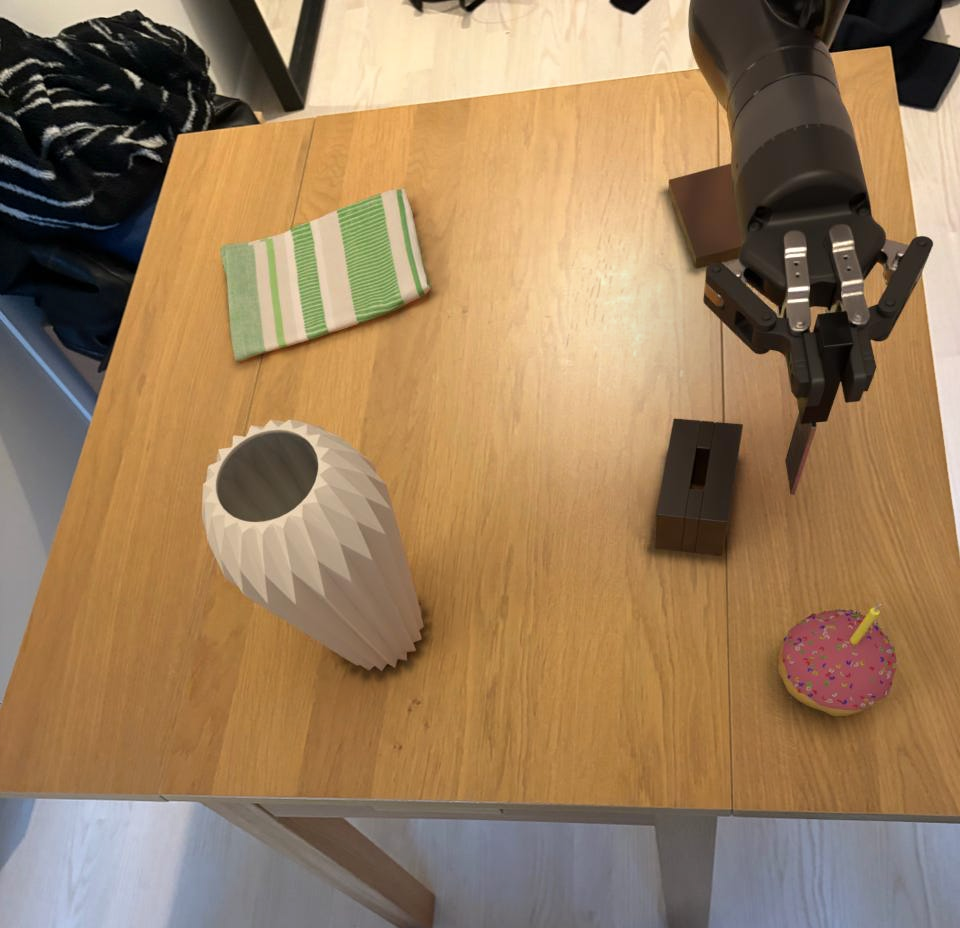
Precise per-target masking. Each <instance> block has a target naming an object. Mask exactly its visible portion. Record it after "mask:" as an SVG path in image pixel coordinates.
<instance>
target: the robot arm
mask: <svg viewBox="0 0 960 928" xmlns="http://www.w3.org/2000/svg"><path fill="white" fill-rule="evenodd" d="M850 2H851V0H689V4H688V6H689V7H688V17H687V26H688V27H687V28H688V29H687V30H688V40H689V44H690V48H691V52H692V56H693V59H694V62H695V64H696V65H697V68H698V69H699V71H700V74H701V75H702V77H703V79H704V80H705V81H706V83H707V85H708V87H709V88H710V90H711V91H712V93H713V95H714V97H715V98H716V100H717V103H719V104H720V106H721V107H722V108H723V109H724V111H725V112H726V119H727V126H728V131H729V138H730V143H731V144H730V146H731V151H730V163H731V173H732V184H731V185H732V192H733V196H734V198H735V200H736V207H737V214H738V221H739V227H740V234H741V241H742V246H741V247H740V250H739V258H736V259H734V260H733V261H732V262H730V263H729V264H727V265H726V264H724V263H723V262H720V263H719V262H715V263H712V264H710V265H708V266H706V268H705V276H704V277H705V278H704V287H703V288H704V290H703V298H702V302H703V304H704V305H705V306H706V307H707V308H708V309H709V310H710V311H711V312H712V313H713V315H715V316H716V317H717V318H718V319H719V320H720V321H721V322H722V323H723V324H724V325H725V326H726V327H727V328H728V329H729V330H730V331H731V332H732V333H733V334H734V335H735V336H736V337H737V338H738V339H739V340H740V341H741V342H742V343H743V344H744V345H745V346H746V347H748V348H749V350H750V351H752V353H754V354H756V355H765V354H767V353H768V352H770V351H773V352H778V353H780V354H782V355H783V357H784V358H785V362H786V367H787V375H788V379H789V387H790V392H791V394H792V395H793V396H794V398H795V399H797V398H803V400H804V405H805V407H809V406H818V405H819V403H820V400H821V397H822V394H823V391H824V386H825V379H824V373H823V367H822V362H821V358H820V354H819V348H818V343H817V337H816V332H813V331H811V326H812V316H811V314H812V313H811V308H813V307H817V308H823V309H824V313H831V312H840V311H847V313H848V318H849V323H850V328H851V333H852V337H853V342H854V345H853V347H852V350H851V353H850V356H849V359H848V361H847V364H846V367H845V370H844V373H843V376H842V379H841V382H840V385H841V389H842V393H843V398H844V402H845V403H846V404H848V403H857V402H861V399H862V397H863V394H864V393H865V392H869V389H870V387H871V384H872V382H873V379H874V376H875V373H876V370H877V363H876V359H875V355H874V350H873V345H872V341H874V342H877V343H878V342H885V341H886V340H888V339H889V337H890V335H891V333H892V332H893V329H894V328H895V325H896V324H897V322H898V320H899V318H900V316H901V314H902V312H903V311H904V308H905V307H906V305H907V303H908V301H909V299H910V298H911V296H912V293H913V292H914V290H915V288H916V286H917V284H918V283H919V281H920V279H921V276H922V273H923V271H924V269H925V267H926V265H927V261H928V259H929V256H930V253H931V252H932V250H933V247H934V241H933V240H932V238H930V237H928V236H925V235H919V236H915V237H914V238H912V240H911V241H910V243H909V244H905V243H902V242H898V241H894V240H890V239H887V233H886V231H885V228H884V227H882V225H880V224H879V223H878V222H877V221H876V220H875V218H874V217H873V213H872V205H871V198H870V195H869V190H868V186H867V182H866V178H865V174H864V173H865V172H864V169H863V165H862V160H861V156H860V152H859V148H858V143H857V139H856V135H855V131H854V127H853V123H852V119H851V116H850V114H849V111H848V110H847V107H846V106H845V103H844V102H843V99H842V94H841V91H840V87H839V82H838V77H837V74H836V68H835V65H834V62H833V58H832V55H831V53H830V51H829V50H830V49H831V46H832V45H833V42H834V40H835V38H836V36H837V32H838V30H839V29H840V25H841V23H842V20H843V18H844V16H845V13H846V10H847V8H848V5H849V3H850ZM877 263H878V264H880V265H881V266H882V269H883V271H882V278H883V279H884V280H886V281H885V285H886V287H885V289H884V291H883V293H882V294H881V296H880V298H879V300H878V302H877V303H876V304H873V305H872V306H869V307H868V304H867V300H866V297H865V293H864V287H865V280H866V279H867V278H868V276H869V275H870V273H871V272H872V270H873V269H874V267H875V266H876V265H877ZM750 287H752V288H753V289H754V290H756V291H757V292H758V293H759V294H761V295H762V296H763V297H765V298H766V299H767V300H769V301H770V302H771V303H772V304H773V305H775V306H776V312H775V311H774V310H773V308H771V307H770V306H769V305H768V304H767V303H766V302H765V301H764V300H763V299H761V298H760V296H759V295H757V294H756V292H754V291H753V290H752V289H751V288H750Z"/></svg>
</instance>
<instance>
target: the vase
mask: <svg viewBox="0 0 960 928" xmlns="http://www.w3.org/2000/svg"><path fill="white" fill-rule="evenodd" d="M246 433H247V434H246V436H242V435H233V436H232V441H231V445H230V446H229V447H223V448H219V449H217V455H216V462H214V463H212V464H210V465H208V466H207V470H206V479H205V482H203V484H202V497H201V498H202V499H201V500H202V502H201V521H202V524H203V527H204V530H205V532H206V538H207V539H206V541H207V543H208V545H209V547H210V550H211V552H212V554H213V555H214V558H215V560H216V562H217V564H218V566H219V568H220V571H221V572H222V574H223V577H224V579H225V580H227V581H229V582H230V583H232V584H233V585H234V586H236V587H238V589H239V590H240V592H241V593H242V595H243V596H245V597H246V598H247V599H250V600H251V601H252V602H254V603H256V604H257V605H259V607H260V606H261V608H263V609H265V610H267V612H270V613H271V614H273V615H274V616H276V617H278V618H280V619H281V620H282V621H284V622H286V623H288V624H289V625H290V626H292V627H294V628H295V629H297V630H299V631H300V632H302V633H303V634H305V635H306V636H308V637H310V638H312V639H313V640H314V641H316V642H317V643H320V644H321V645H323V646H324V647H326V648H327V649H329V650H331V651H332V652H334V653H336V654H337V655H338V656H340V657H342V658H344V659H345V660H347V661H348V662H350V663H352V664H353V665H355V666H356V667H358V666H361V667H362V668H364V669H366V670H367V671H371V670H372V669H373V668H374V667H375V668H377V669H378V670H379V671H381V672H383V671H384V669H385V668H386V666H387V665H389V666H391V667H393V668H395V669H396V666H397V663H398V660H401V661H404V662H405V661H406V662H407V661H408V653H410V652H416V651H417V648H416V647H415V644H414V643H416V642H418V641H421V640H422V639H423V638H422V633H421V632H420V630H422V629H423V628H424V627H425V626H424V621H423V618H422V615H423V614H422V610H421V606H420V602H419V599H418V595H417V592H416V587H415V583H414V580H413V576H412V572H411V569H410V566H409V562H408V558H407V554H406V550H405V547H404V543H403V540H402V536H401V532H400V529H399V525H398V522H397V518H396V513H395V510H394V507H393V504H392V499H391V496H390V493H389V489H388V485H387V483H386V482H385V481H384V480H383V479H382V478H381V477H380V476H379V475H378V474H377V469H376V467H375V464H374V463H373V462H372V461H370V460H369V459H368V458H367V457H366V456H365V455H364V454H363V453H361V452H360V451H359V450H358V449H357V448H356V447H354V446H353V445H352V444H351V443H350V442H349V441H348V440H347V439H345V437H342V436H340V435H337V434H335V433H332V432H329V431H328V430H326V428H324V427H322V426H318V425H314V424H312V423H311V424H310V423H306V422H303V421H299V420H296V419H291V418H290V419H288V420H286V421H282V420H277V419H270V420H269V421H268V422H267V423H266V424H265V425H264V426H261V425H253V424H251V425H250V426H249V429H248V432H246Z"/></svg>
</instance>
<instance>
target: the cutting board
mask: <svg viewBox="0 0 960 928" xmlns="http://www.w3.org/2000/svg"><path fill="white" fill-rule="evenodd" d="M731 184H732V173H731V162H730V163H727V164H723V165H719V166H715V167H711V168H708V169H704V170H701V171H700V170H699V171H697V172H693V173H688V174H686V175H681V176H677V177H674V178H669V179H668V190H667V192H668V195H669V198H670V201H671V203H672V206H673V208H674V212H675V215H676V217H677V221H678V223H679V226H680V230H681V233H682V234H683V237H684V240H685V243H686V246H687V249H688V252H689V255H690V258H691V260H692V263H693V266H694V268H695V269H699V268H704V267H708V266H709V265H710V264H712V263H715V262H719V263H723V262H727V261H731V260H737V259H739V250H740V247H741V246H742V241H741V234H740V227H739V221H738V214H737V207H736V200H735V198H734V196H733V192H732V185H731Z"/></svg>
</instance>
